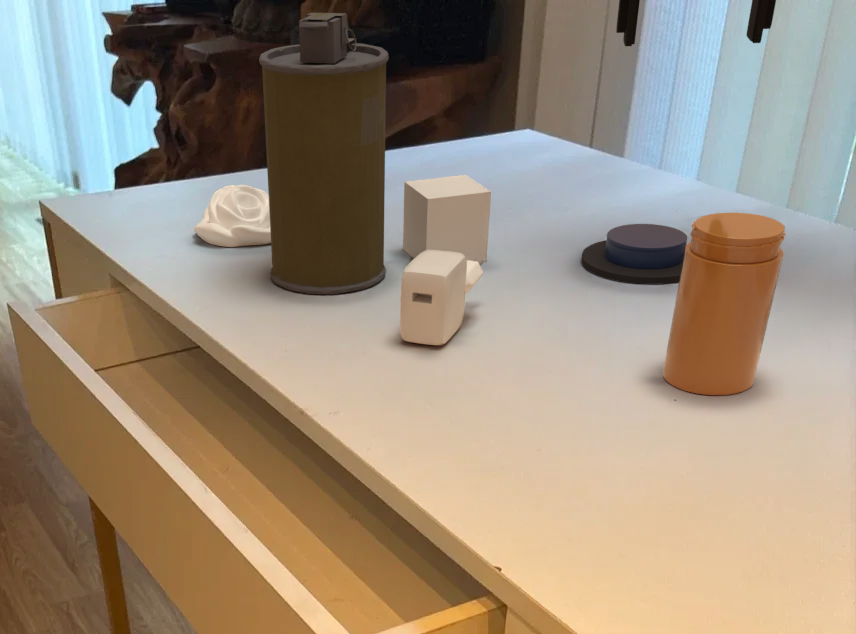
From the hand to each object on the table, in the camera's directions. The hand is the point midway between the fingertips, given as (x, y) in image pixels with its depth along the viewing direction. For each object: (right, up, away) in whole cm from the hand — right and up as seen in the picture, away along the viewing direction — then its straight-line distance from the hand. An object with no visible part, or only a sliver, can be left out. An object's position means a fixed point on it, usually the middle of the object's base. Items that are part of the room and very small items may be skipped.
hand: (690, 41), depth 89 cm
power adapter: (-20, -22, +2) cm, 29 cm away
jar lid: (0, -11, +10) cm, 15 cm away
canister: (-29, -14, +12) cm, 34 cm away
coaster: (0, -13, +12) cm, 17 cm away
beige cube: (-18, -11, +15) cm, 26 cm away
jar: (-1, -29, -7) cm, 30 cm away
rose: (-37, -6, +22) cm, 43 cm away
